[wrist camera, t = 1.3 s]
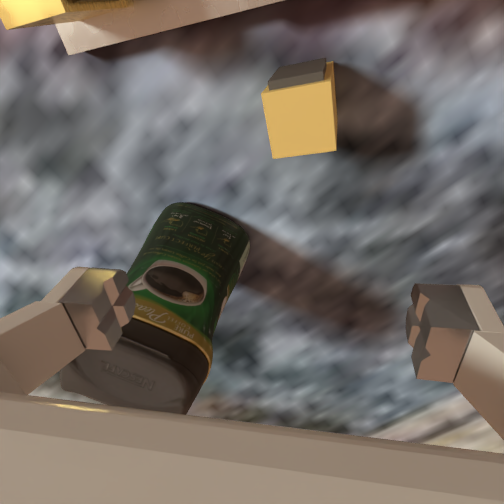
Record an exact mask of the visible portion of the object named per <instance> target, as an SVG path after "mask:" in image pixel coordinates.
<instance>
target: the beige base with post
mask: <svg viewBox="0 0 504 504" xmlns="http://www.w3.org/2000/svg"><path fill="white" fill-rule="evenodd" d="M281 1H285V0H0V18H1V20H2V22H3V24H4V26H5V28H6V30H10V29H18V28H26V27H34V26H43V25H51V24H55V25H56V27H57V29H58V32H59V34H60V36H61V39H62V41H63V43H64V46H65V48H66V50H67V52H68V55H72V54H76V53H80V52H84V51H88V50H92V49H96V48H100V47H104V46H108V45H112V44H116V43H120V42H124V41H128V40H131V39H135V38H139V37H143V36H147V35H151V34H155V33H159V32H163V31H167V30H171V29H175V28H179V27H183V26H187V25H191V24H194V23H198V22H202V21H206V20H210V19H214V18H218V17H222V16H226V15H230V14H234V13H238V12H242V11H246V10H250V9H254V8H257V7H261V6H265V5H269V4H273V3H277V2H281Z"/></svg>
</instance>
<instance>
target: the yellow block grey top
mask: <svg viewBox="0 0 504 504" xmlns="http://www.w3.org/2000/svg"><path fill="white" fill-rule="evenodd" d="M261 95H262V101H263V106H264V112H265V117H266V123H267V128H268V134H269V140H270V145H271V151H272V156H273V159H276V158H284V157H291V156H299V155H307V154H314V153H322V152H330V151H336V144H337V106H336V93H335V80H334V67H333V61H332V62H327V63H326V58H322V59H317V60H312V61H307V62H302V63H298V64H293V65H288V66H283V67H279V68H278V70H277V71H276V72H275V73H274V74H273V76H272V77H271V78H270V79H269V81H268V86H267V87H266V88H265V90H264V91H263V92H262V93H261Z"/></svg>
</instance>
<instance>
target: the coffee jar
mask: <svg viewBox="0 0 504 504" xmlns="http://www.w3.org/2000/svg"><path fill="white" fill-rule="evenodd" d="M249 250H250V241H249V238H248V235H247V234H246V232H245V231H244V230H243V229H242V228H241V227H240V226H239V225H237V224H236V223H234V222H232V221H231V220H229V219H227V218H225V217H223V216H221V215H219V214H217V213H214V212H212V211H210V210H207V209H205V208H202V207H199V206H196V205H193V204H189V203H184V202H179V203H174V204H171V205H169V206H168V207H166V208H165V209H164V210H163V212H162V213H161V214H160V216H159V217H158V219H157V221H156V222H155V224H154V226H153V228H152V229H151V231H150V233H149V235H148V237H147V239H146V241H145V243H144V245H143V247H142V248H141V250H140V252H139V254H138V256H137V258H136V259H135V261H134V263H133V265H132V266H131V268H130V270H129V271H128V273H127V277H128V279H129V282H128V284H127V287H128V288H129V289H130V290H131V291H133V293H134V296H135V303H136V306H135V311H134V315H133V317H132V318H131V320H130V322H129V323H127V324H126V325H124V326H122V327H121V329H122V335H121V337H120V338H119V340H118V341H117V343H116V345H115V346H114V348H113V350H112V351H111V350H94V349H85V351H84V352H83V353H81V354H80V355H79V356H77V357H76V358H75V359H74V360H72V361H71V362H70V363H68V364H67V365H66V366H64V367H63V368H62V369H61V370H60V382H61V387H62V389H63V390H65V391H69V392H74V393H78V394H81V395H84V396H86V397H88V398H91V399H93V400H96V401H99V402H101V403H104V404H107V405H111V406H119V407H127V408H135V409H143V410H151V411H160V412H168V413H176V414H184V415H186V414H187V412H188V410H189V409H190V407H191V405H192V403H193V401H194V400H195V398H196V396H197V394H198V393H199V391H200V389H201V387H202V385H203V383H204V382H205V381H206V379H207V377H208V374H209V372H210V368H211V364H212V357H213V348H212V337H213V333H214V331H215V328H216V325H217V322H218V320H219V318H220V315H221V313H222V311H223V309H224V307H225V305H226V302H227V300H228V298H229V297H230V295H231V293H232V291H233V289H234V287H235V285H236V283H237V281H238V279H239V277H240V275H241V272H242V270H243V268H244V265H245V263H246V260H247V257H248V254H249Z"/></svg>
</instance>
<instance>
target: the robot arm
mask: <svg viewBox="0 0 504 504" xmlns="http://www.w3.org/2000/svg"><path fill="white" fill-rule="evenodd" d="M128 282H129V279H128V277H127V274H126V272H125V271H123V270H120V269H105V268H88V267H76V268H72V269H71V270H70V271H69V272H68V273H67V275H66V276H65V277H64V278H63V279H62V280H61V281H60V282H59V283H58V284H57V285H56V286H55V287H54V288H53V289H52V290H51V291H50V292H49V293H48V294H47V295H46V297H45V298H44V299H43V300H42V301H41V302H38V301H36V302H34V303H32V304H30V305H28V306H25V307H23V308H21V309H19V310H17V311H15V312H13V313H11V314H9V315H7V316H5V317H3V318H1V319H0V504H504V454H501V453H493V452H485V451H477V450H469V449H461V448H453V447H445V446H437V445H428V444H420V443H412V442H404V441H396V440H388V439H380V438H372V437H363V436H355V435H347V434H339V433H330V432H322V431H314V430H306V429H298V428H289V427H281V426H273V425H265V424H257V423H248V422H240V421H232V420H224V419H216V418H208V417H200V416H192V415H184V414H176V413H168V412H160V411H151V410H143V409H135V408H127V407H119V406H111V405H103V404H95V403H86V402H78V401H70V400H62V399H54V398H46V397H38V396H30V395H28V394H29V393H31V392H32V391H33V390H35V389H36V388H37V387H38V386H40V385H41V384H42V383H44V382H45V381H46V380H48V379H49V378H50V377H51V376H53V375H54V374H55V373H57V372H58V371H59V370H61V369H62V368H63V367H64V366H66V365H67V364H68V363H70V362H71V361H72V360H74V359H75V358H76V357H77V356H79V355H80V354H81V353H83V352H84V351H85V349H94V350H111V351H112V350H113V348H114V346H115V345H116V343H117V341H118V340H119V338H120V337H121V335H122V329H121V327H122V326H124V325H126V324H127V323H129V322H130V320H131V318H132V317H133V315H134V311H135V306H136V303H135V296H134V293H133V291H131V290H130V289H129V288H128V287H127V284H128ZM411 298H412V302H413V304H412V305H411V306H410V307H408V310H407V315H406V335H407V340H408V343H409V344H410V345H411V346H412V347H413V352H412V356H411V358H412V362H413V366H414V370H415V374H416V378H417V379H424V380H433V381H441V382H450V383H454V384H453V385H454V386H455V387H456V388H457V389H458V390H459V391H460V392H461V394H462V395H463V396H464V397H465V398H466V399H467V400H468V401H469V402H470V403H471V405H472V406H473V407H474V408H475V409H476V410H477V411H478V412H479V413H480V414H481V416H482V417H483V418H484V419H485V420H486V421H487V422H488V423H489V424H490V425H491V427H492V428H493V429H494V430H495V431H496V432H497V433H498V434H499V435H500V436H501V438H502V439H503V440H504V326H503V324H502V322H501V320H500V318H499V317H498V315H497V313H496V311H495V309H494V307H493V306H492V304H491V302H490V300H489V298H488V296H487V295H486V293H485V291H484V289H483V287H481V286H480V285H458V284H457V285H444V284H420V283H415V284H414V286H413V288H412V292H411Z"/></svg>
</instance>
